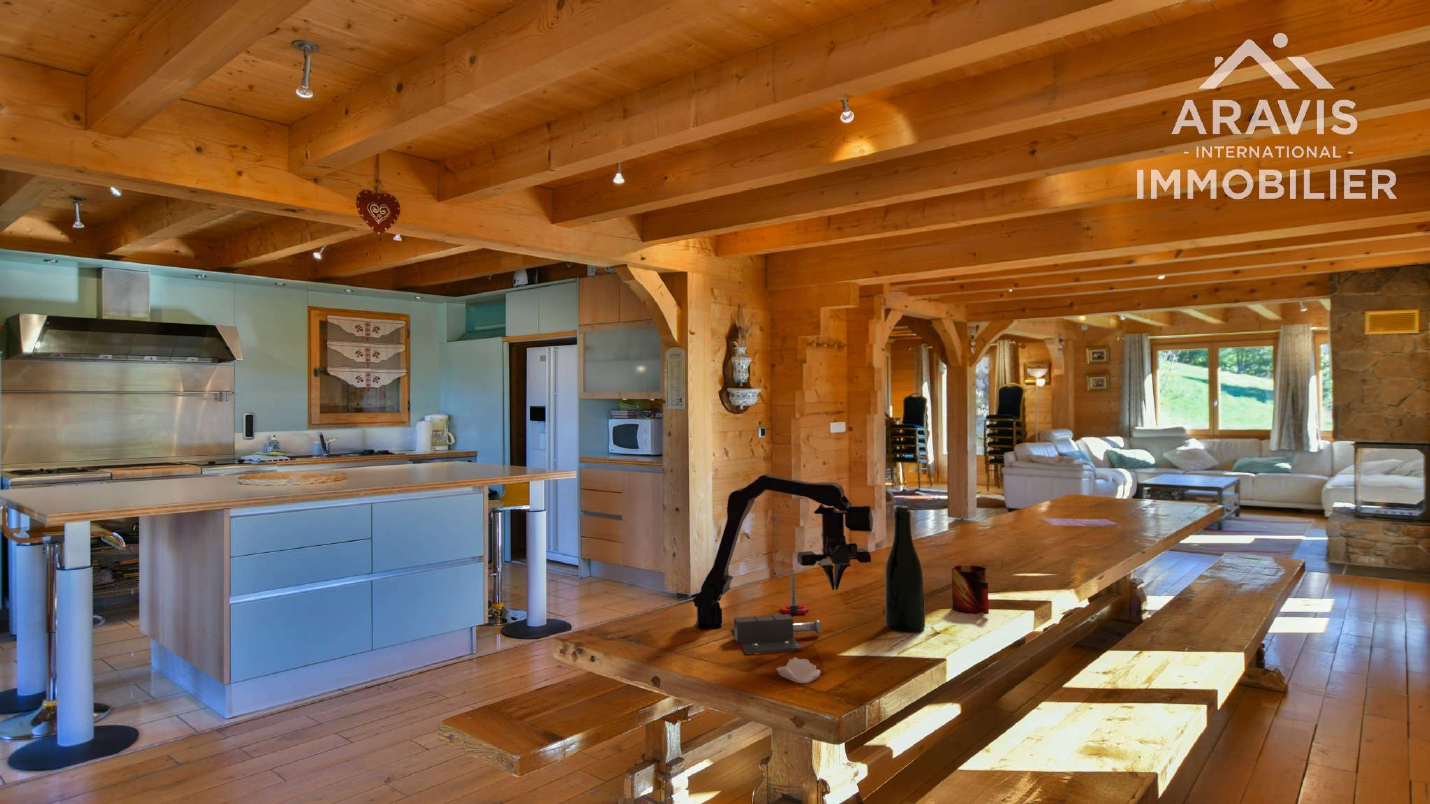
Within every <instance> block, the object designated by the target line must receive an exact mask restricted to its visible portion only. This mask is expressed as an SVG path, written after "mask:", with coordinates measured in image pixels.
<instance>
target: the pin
mask: <svg viewBox="0 0 1430 804" xmlns="http://www.w3.org/2000/svg"><path fill="white" fill-rule="evenodd" d="M820 621H821V620H820V619H814V621H809V622H793V634H798V633H809V632H811V633H813V632H814V633H815V634H821V631H822V627H821V626H822V625H821V622H820Z"/></svg>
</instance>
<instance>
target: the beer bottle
mask: <svg viewBox="0 0 1430 804" xmlns="http://www.w3.org/2000/svg"><path fill="white" fill-rule="evenodd" d="M911 513H912V512H911V511H909V506H908V505H907V506H906V505H898V506H896V507H895V510H894V514H893V517H894V533H893V534H894V535H893V541H892V546H891V549H890V552H889V554H888V557H887V560H886V565H885V570H884V571H885V576H884V577H885V579H884V586H885V587H884V589H885V590H884V593H885V595H884V600H885V601H884V603H885V604H884V605H885V607H884V608H885V610H884V613H885V616H884V617H885V626H886V628H888V629H889V630H890V631H893V632H899V633H917V632H920V631H922V630H924V629H925V627H926V608H925V607H926V606H925V589H924V587H925V586H924V573H923V566H922V563H921V559H920V557H919V555H918V552H917V550H916V547H915V544H914V541H913V535H912V525H911V522H912V521H911V518H912V517H911V516H912V515H911Z"/></svg>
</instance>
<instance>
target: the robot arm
mask: <svg viewBox="0 0 1430 804" xmlns="http://www.w3.org/2000/svg"><path fill="white" fill-rule="evenodd" d="M765 491H771V492H772V491H773V492H777V493H783V494H787V495H792V496H799V497H804V498H808V499H810V500H812V501H813V502H815V503H818V504H819V505H818V507H817V508H816V510H814V511H813V513H814V514H815V515H821V538H822V548H821V552H822V553H818V554H816V553H815V552H813V551H812V550H811V551H810V550H809V551H808V550H807V551H799V552H798V553H797V555H796V561H797V563H798V564H799V565H800V566H802V567H808V566H809V567H811V566H813V567H814V566H815V565H816V564H817V565H818V566H819V567H821V568H822V569H823V571H824V573H825V576H826V577H827V581H828V583H829V585H830V588H831V590H832V591H834V590H836V591H837V590H839V586H840V583H841V581H842V580H841V579H842V577H843V575H844V572H845V570H846V569H848V568H849V567H851V565H852V564H851V560H856V561H857V562H858V563H860V564H861V563H862V564H863V563H871V562H872V555H871V552H870V551H868V550H866V549H865V548H864V547H863V548H862V547H861V548H858V545H857V543H855V542H853V543H851V542H850V543H847V541H846V539H847V538H846V535H845V528H846V529H849V531H850V532H861V533H862V532H868V533H869V532H873V529H874V528H873V527H874V517H873V513H872V508H871V507H872V506H871V505H853V504H852V503H851V501H850V500H849V499H848V498H847V496H846V495H845V490H844V487H843V486H842V485H841V484H840V483H838V482H831V481H826V482H808V481H802V480H797V479H791V478H786V477H781V476H775V475H771V474H770V473H764V474H762V475H760V476H758V477H757V479H755V480H754V481H753V482H751V483H750V484H749V483H748V485H746V486H744V488H739V489H736V490H734V491H732V492H730V494H729V495H728V498H727V504H726V513H727V514H726V516H727V517H726V523H725V527H724V530H723V532H722V536H721V539H720V543H719V546H718V550H717V552H716V556H715V559H714V563H713V565H712V567H711V569H710V570H709V573H707V575H706V577H705V579H704V581H703V582H702V585H701V587H700V592H699V593H698V594H696V596H695V597H694V598H693V599H692V601H693V604H694V607H695V608H696V621H695V624H696V626H697V629H698V630H703V629H718V628H719V629H720V628H722V624H723V609H722V607H721V603H720V601H722V600H721V599H722V597H723V596H724V595H725V594H726V593H727V592H729V590H730V589H731V582H732V580H733V578H734V576H732V575H729V573H730V572H729V569H730V568H729V567H730V564H731V562H732V559H733V554H734V551H735V548H736V545H737V541H738V538H739V536H740V531H741V528H742V525H743V523H744V521H745V519H746V517H747V516H748V514H749V512H750V511H751V509H752V507H753V505H754V504H755V499H757V498H758V497H759V496H760V495H761V496H762V494H763V493H765ZM833 564H834V565H833Z"/></svg>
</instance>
